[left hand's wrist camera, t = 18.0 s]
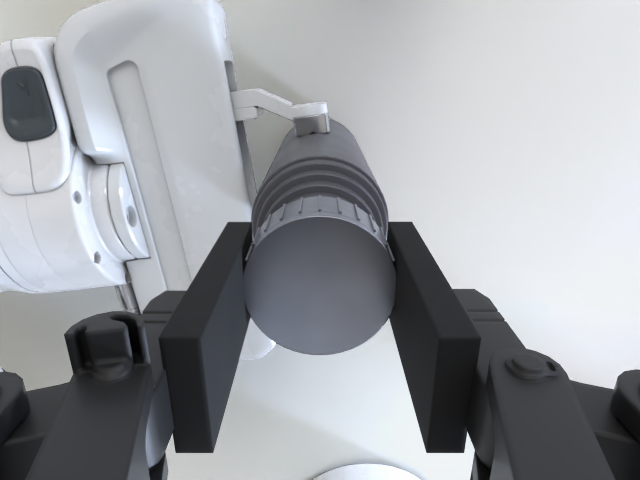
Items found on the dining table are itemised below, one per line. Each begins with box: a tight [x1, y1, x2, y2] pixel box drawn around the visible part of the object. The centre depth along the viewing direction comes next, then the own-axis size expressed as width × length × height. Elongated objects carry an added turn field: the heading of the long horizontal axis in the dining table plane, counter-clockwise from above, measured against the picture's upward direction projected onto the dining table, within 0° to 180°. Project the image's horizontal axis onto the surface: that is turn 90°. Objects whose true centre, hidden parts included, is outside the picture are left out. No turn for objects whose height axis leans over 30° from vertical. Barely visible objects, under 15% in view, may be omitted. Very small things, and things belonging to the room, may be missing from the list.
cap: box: [243, 195, 397, 355], centre depth 14 cm, size 4×4×2 cm
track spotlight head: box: [251, 119, 389, 239], centre depth 22 cm, size 6×6×19 cm
